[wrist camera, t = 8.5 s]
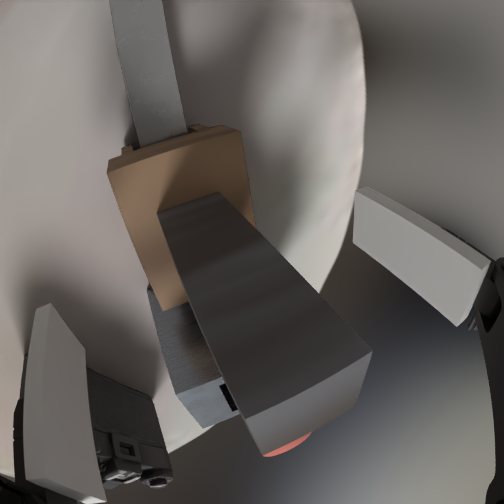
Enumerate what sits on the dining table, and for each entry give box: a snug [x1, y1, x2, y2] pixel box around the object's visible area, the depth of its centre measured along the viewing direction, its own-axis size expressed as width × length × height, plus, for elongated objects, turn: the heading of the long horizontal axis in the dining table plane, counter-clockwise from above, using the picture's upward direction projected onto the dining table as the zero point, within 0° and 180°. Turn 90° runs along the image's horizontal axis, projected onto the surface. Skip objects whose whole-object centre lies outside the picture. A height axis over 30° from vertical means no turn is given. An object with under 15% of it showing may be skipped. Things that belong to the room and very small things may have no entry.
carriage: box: [107, 124, 372, 455], centre depth 12 cm, size 8×6×15 cm
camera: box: [20, 352, 174, 489], centre depth 19 cm, size 14×11×10 cm
